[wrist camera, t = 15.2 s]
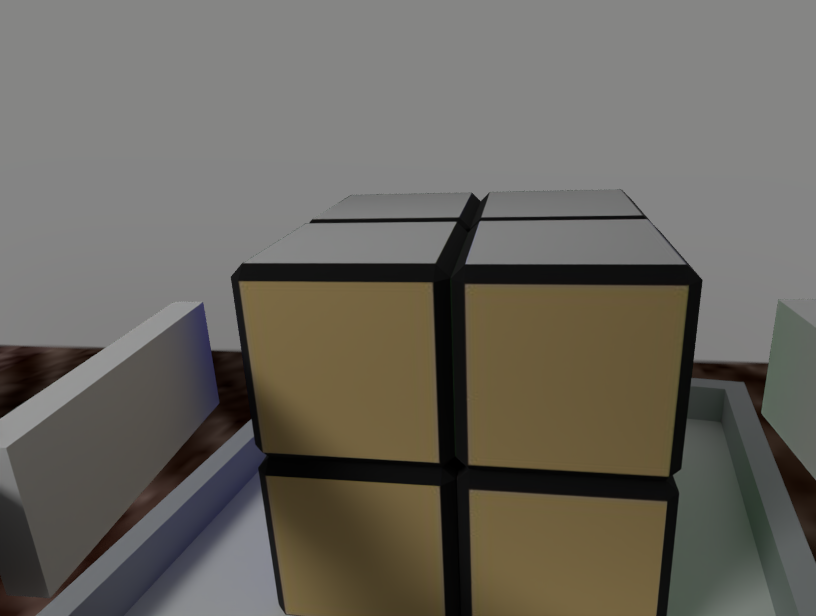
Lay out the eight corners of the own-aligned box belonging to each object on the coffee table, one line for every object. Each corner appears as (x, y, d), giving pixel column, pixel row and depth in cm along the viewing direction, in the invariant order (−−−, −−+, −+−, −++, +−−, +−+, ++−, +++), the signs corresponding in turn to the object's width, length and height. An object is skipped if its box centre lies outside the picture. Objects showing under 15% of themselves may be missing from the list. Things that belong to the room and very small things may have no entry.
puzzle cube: (363, 433, 26) (344, 193, 23) (612, 445, 25) (630, 187, 21) (274, 623, 17) (221, 266, 14) (665, 666, 15) (710, 267, 12)
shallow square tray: (26, 725, 16) (0, 648, 15) (334, 392, 32) (329, 347, 31) (923, 1029, 10) (962, 932, 9) (736, 435, 27) (743, 382, 26)
